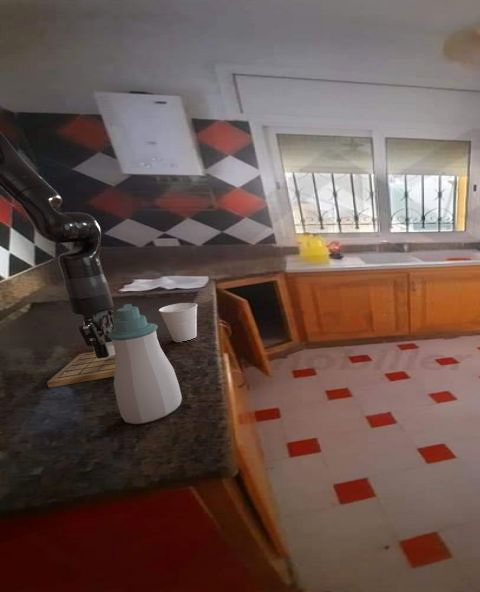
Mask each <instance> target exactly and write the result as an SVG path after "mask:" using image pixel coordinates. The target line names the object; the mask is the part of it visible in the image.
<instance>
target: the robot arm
mask: <svg viewBox="0 0 480 592" xmlns="http://www.w3.org/2000/svg"><path fill="white" fill-rule="evenodd" d="M0 189H2V190H3V191H4V192H5V193H6V194H7V195H8V196H9V197H10V198H11V199H12V200H14V201H15V203H17V204H18V205H19V206H20V207H21V208H22V210H23V212H24V213H25V215H26V216H27V219H28V220H29V221H30V223H31V225H32V227H33V229H34V230H35V232H36V233H37V234H38V235H39V236H41V237H42V238H44V239H45V240H47V241H49V242H52V243H55V244H68V243H72V244H71V249H70V250H69V251H66V252H63V253H61V254H60V255H58V258H57V261H58V265H59V269H60V272H61V275H62V278H63V283H64V290H65V292H66V295H67V298H68V302H69V305H70V308H71V311H72V313H73V314H75V315H81V316H83V321H82V322H83V325H79V326H78V330H79V333H80V334H81V336H82V338H83V340H84V342H85V345H86V347H92V348H93V347H94V350H95V353H96V356H97V358H99V359H100V358H106V357H108V356H109V353H108V349H107V346H106V343H105V342H112V340H111V339H110V338H108V337H107V334H108V333H109V332H111V331H113V330H114V329H115V328H116V326H115V323H114V321H115V316H114V315H115V314H114V311H113V310H112V309H113V308H114V307H115V306H114V305H115V304H114V300H113V297H112V293H111V290H110V287H109V283H108V280H107V277H106V276H105V273H104V270H103V266H102V263H101V260H100V254H101V241H102V229H101V226H100V225H99V222H98V221H97V219H95V217H93V216H92V215H91V214H89V213H86V212H81V211H67V212H66V211H63V212H62V211H61V212H60V211H58V210H57V209H58V208H60V206H62V205H63V198H62V197H61V195H60V194H59V193H58V192H57V191H56V190H55V189H54V188H53V187H52V186H51V185H50V184H49V183H48V182H47V181H46V180H45V179H44V178H43V177H42V176H40V174H38V172H36V171H35V170H34V168H33V167H31V165H29V164H28V163H27V162H26V161H25V159H24V158H23V157H22V156H21V155H20V154H19V153H18V151H17V150H16V149H15V147H13V145H12V144H11V143H10V141H9V140H8V138H7V137H6V136H5V135H4V134H3V133H2V131H1V130H0ZM94 350H93V351H94Z"/></svg>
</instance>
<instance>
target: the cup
mask: <svg viewBox="0 0 480 592" xmlns="http://www.w3.org/2000/svg"><path fill="white" fill-rule="evenodd" d="M158 312H159V313H160V316H161V318H162V319H163V321H164V323H165V326H166V328H167V331H168V332H169V334H170V337H171V339H172V340H173V342H175V343H179V342H180V343H183V342H182V341H187V340H191V339H193V338H195V339H196V338H197V337H198V335H197V334H198V331H197V327H198V326H197V324H198V323H197V321H198V320H197V316H198V304H197V303H195V302H180V303H174V304H173V303H172V304H169V305H165V306H163V307H160V308H159V309H158ZM193 340H194V339H193ZM191 341H192V340H191ZM187 342H188V341H187Z"/></svg>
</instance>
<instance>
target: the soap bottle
mask: <svg viewBox="0 0 480 592" xmlns="http://www.w3.org/2000/svg"><path fill="white" fill-rule="evenodd" d="M116 312H117V317H118V318H116V319H114V323H115V329H114V330H113V331H111V332H109V333H108V334H107V337H108V338H110V339H111V340H112V343H113V346H114V350H115V356H116V360H115V375H114V376H113V387H114V393H115V398H116V403H117V406H118V410H119V413H120V417H121V418H122V419H123V421H124V422H125V423H127V424H132V425H142V424H147V423H151V422H155V421H157V420H160V419H162V418H166V417H167V416H169V415H170V414H172V413H174V412H175V411H176V410H177V409H178V408H179V407H180V405H181V403H182V401H183V400H182V399H183V398H182V393H181V388H180V384H179V381H178V378H177V375H176V372H175V369H174V367H173V366H172V363H170V360H169V359H168V357H167V356H166V354H165V353H164V351H163V349H162V347H161V345H160V342H159V340H158V335H157V329H158V327H159V326H158V325H157V324H156V323H152V322H151V323H150V322H147V317H146V315H144V314H140V311H139V307H138V306H132V303H126V304H123V307H121V308H118V309H116Z"/></svg>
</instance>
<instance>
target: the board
mask: <svg viewBox="0 0 480 592" xmlns="http://www.w3.org/2000/svg"><path fill="white" fill-rule="evenodd" d="M115 360H116V356H115V355H113V356H110V357H106V358H100V359H99V358H96V356H95V353H94V351H90V352H84V353H79V354H78V355H77V356H76V357H74V358H73V359H72V360H70V362H69V363H67V364H66V365H65V366H64V367H63V368H61V370H60V371H58V372H57V373H56V374H54V375H53V376H52V377H51V378H50V379H49V380H48V381H47V382H46V385H47V387H48V388H49V389H50V388H56V387H62V386H68V385H72V384H79V383H83V382H90V381H95V380H101V379H107V378H114V375H115Z"/></svg>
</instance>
